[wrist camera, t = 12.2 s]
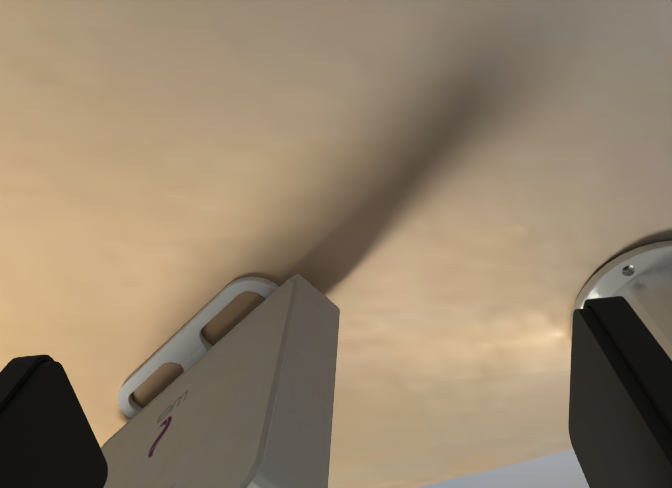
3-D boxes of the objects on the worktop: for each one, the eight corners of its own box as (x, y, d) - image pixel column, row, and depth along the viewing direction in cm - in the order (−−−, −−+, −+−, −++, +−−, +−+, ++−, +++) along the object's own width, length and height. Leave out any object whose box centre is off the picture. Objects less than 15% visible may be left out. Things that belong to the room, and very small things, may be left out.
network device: (282, 233, 41) (217, 451, 23) (367, 308, 43) (369, 556, 25) (85, 417, 50) (-70, 677, 32) (165, 470, 52) (63, 738, 34)
